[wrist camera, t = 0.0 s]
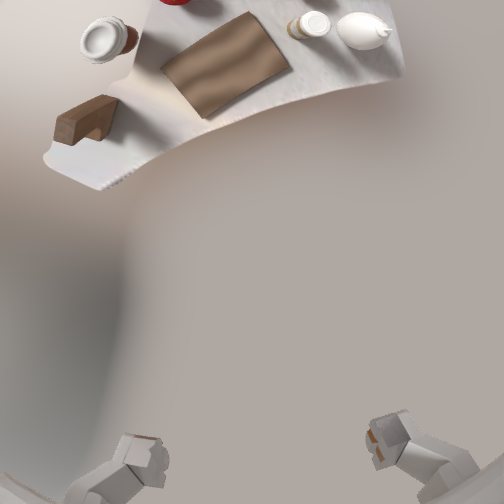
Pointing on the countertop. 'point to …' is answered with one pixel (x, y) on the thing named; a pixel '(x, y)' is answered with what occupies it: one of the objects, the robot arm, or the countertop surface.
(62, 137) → the wooden block
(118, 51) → the coffee cup
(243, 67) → the walnut board
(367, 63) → the countertop surface
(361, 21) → the sauce bottle
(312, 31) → the sprinkles bottle
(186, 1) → the strawberry
